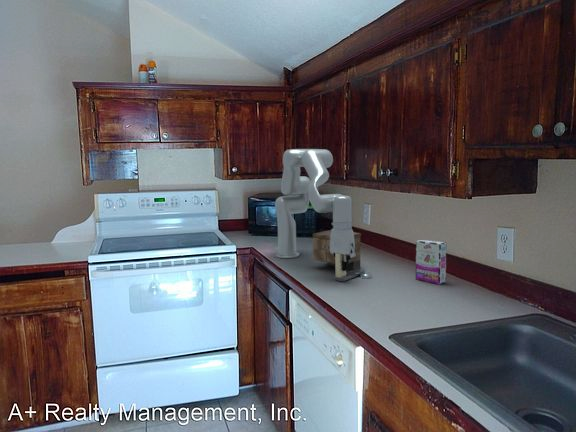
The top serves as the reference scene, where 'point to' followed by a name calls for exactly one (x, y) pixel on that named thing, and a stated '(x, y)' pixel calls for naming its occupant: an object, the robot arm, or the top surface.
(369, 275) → the steel token
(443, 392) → the top surface
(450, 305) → the top surface
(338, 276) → the wood and grey l-block
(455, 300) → the top surface
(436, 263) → the candy bar box
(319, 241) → the cabinet
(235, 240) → the top surface
